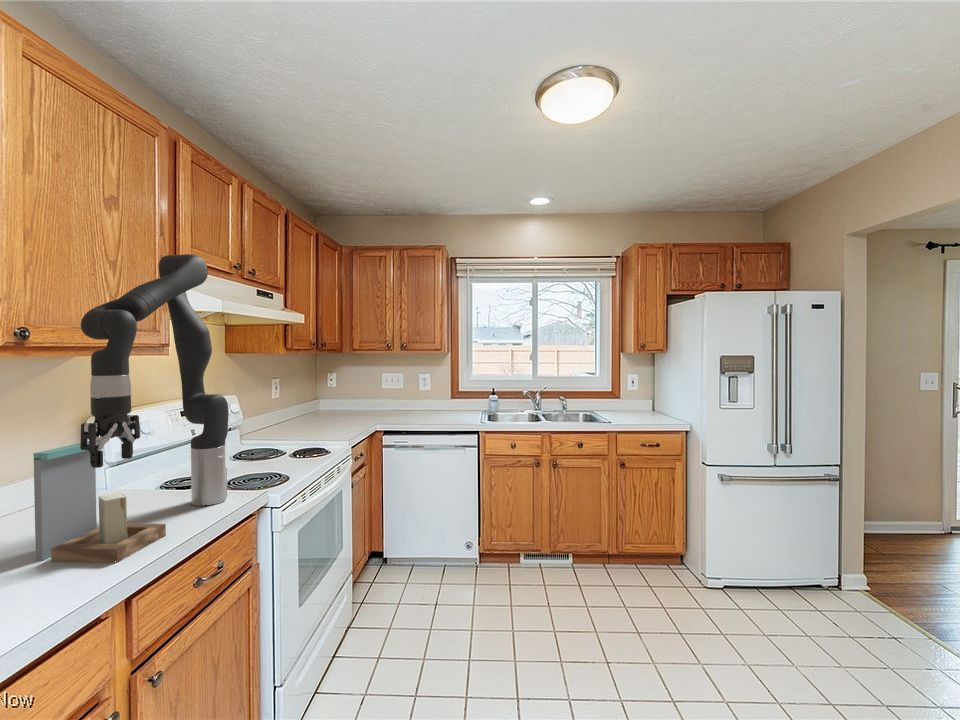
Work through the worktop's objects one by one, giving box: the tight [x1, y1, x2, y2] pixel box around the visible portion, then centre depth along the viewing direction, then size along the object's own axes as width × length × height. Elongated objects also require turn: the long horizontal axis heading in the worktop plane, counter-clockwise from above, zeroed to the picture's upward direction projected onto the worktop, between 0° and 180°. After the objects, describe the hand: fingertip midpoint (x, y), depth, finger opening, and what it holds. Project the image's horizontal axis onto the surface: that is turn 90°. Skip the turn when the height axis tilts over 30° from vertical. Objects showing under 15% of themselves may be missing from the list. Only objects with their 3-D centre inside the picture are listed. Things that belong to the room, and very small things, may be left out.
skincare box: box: [98, 492, 128, 544], centre depth 110 cm, size 6×4×12 cm
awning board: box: [33, 440, 99, 562], centre depth 110 cm, size 14×3×24 cm, turn 178°
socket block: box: [50, 523, 167, 563], centre depth 110 cm, size 15×15×3 cm
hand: (112, 462), depth 110 cm, fingers open, 8 cm apart
